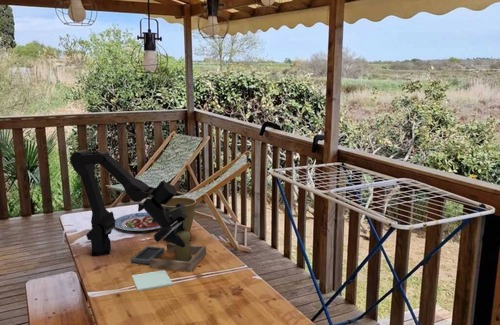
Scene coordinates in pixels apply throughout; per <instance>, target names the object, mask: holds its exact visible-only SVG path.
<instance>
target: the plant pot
mask: <svg viewBox="0 0 500 325" xmlns="http://www.w3.org/2000/svg"><path fill="white" fill-rule="evenodd" d="M180 202H181V203H182V204H184V206H186V208H185V210H186V212H187V213H185V214H186V215H187V216H188V217H187V218H186V219H185V229H186V231H188V232H189V233H190V232H191V229H192V227H193V226H192V225H193V221H194V219H195V218H194V217H195V212H196V206H197V200H196V199H193V198H190V197H182V196H181V197H179V196H177V197H173V198H172V199H171V200H170V201H169V202H168V203H166V204H162V205H163V206H164V207H165V209H166V208H167V207H168V208H169V209H170V210H172V209H174V208H176V204H178V203H180ZM182 222H183V221H182ZM190 234H191V233H190Z"/></svg>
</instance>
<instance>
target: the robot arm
mask: <svg viewBox="0 0 500 325" xmlns="http://www.w3.org/2000/svg"><path fill="white" fill-rule="evenodd" d="M69 161H70V164H71V167H72V168H73V170H74V172H76V174H78V175H79V177H80V179H81V182H82V185H83V186H82V187H83V188H84V192H85V195H86V198H87V200H88V204H89V207H90V210H91V222H90V223H91V224H90V225H91V229H90V230H89V231H88V232H87V233H86V234H85V235H86V239H87V241H90V246H91V247H90V248H91V249H90V253H91V256H92V257H95V256H96V257H97V256H105V255H110V254H111V251H112V250H111V249H112V243H111V242H112V241H111V239H110V237H109V235H111V234H112V231H113V229H115V228H116V227H115V221H116V219H115V216H114V212H113V211H110V212H109V211H108V209H106V205H105V203H104V200H103V196H102V194H101V190H100V187H99V185H98V184H99V183H98V182H97V181H98V180H97V178H96V175H95V168H96V165H100V166H101V167H103V169H104V170H105V171H107V173H109V175H111V176H112V178H114V179H115V180H116V181H117V182H118V183H119V184H120V185H121V186H122V187H123V190H124V192H125V194H126V195H127V197H128V198H129V199H130V200H131V202H133V203H138V204H137V206H138V207H137V211H138V212H137V213H141V211H143V210H144V211H145V212H147V213H148V214H149V215H150V216H151V217H152V218H153V220H152V222H153V223H155V222H156V223H157V224H158V225H159V226H160V227H161V228H159V230H157V231H156V232H155V233H154V235H153V239H154V240H155V241H156V243H158V244H159V242H160V241H161V240H162V241H163V242H167V243H173V244H176V245H178V246H181V247H185V244H184V242H183V241H182V240H181V238H180V237H179V236H178V234H177V233H178V232H180V231H186V229H185V219H186V218H187V217H188V216H187V215H186V214H185V213H187V212H186V210H185V208H186V206H184V204H182V203H181V202H180V203H178V204H176V208H174V209H172V210H170V209H169V208H168V207H167V208H166V209H165V207H164V206H163V205H162V204H166V203H168V202H169V201H170V200H171V199H172V198H175V196H176V195H177V193H178V191H177V189H176V187H175V186H174V185H173V184H171V183H169V182H166V180H161V181H160V182H159V183H158V185H157V186H156V187H153V186H149V185H148V184H147V183H146V182H144V181H142V180H141V179H139V178H137V177H134V176H133V175H132V174H130V173H129V172H128V171H127V170H126V169H125V168H124V167H123V166H122V165H121V164H120V163H119V162H117V160H116V159H115V158H114V157H113V156H111V154H110V153H109V152H107V151H102V152H101V151H91V150H89V149H83V150H79V151H75V152H73V153H72V154H71V155H70V157H69ZM143 200H144V201H143ZM142 201H143V202H142ZM182 221H183V222H182ZM191 241H192V240H191V239H190V240H189V243H190V242H191Z"/></svg>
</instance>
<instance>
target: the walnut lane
mask: <svg viewBox="0 0 500 325" xmlns="http://www.w3.org/2000/svg"><path fill="white" fill-rule="evenodd" d="M190 249H191V255H192V259H191V260H190V261H189V262H186V261H176V259H165V258H150V259H149V265H148V266H149V268H153V269H163V270H170V271H171V270H173V271H180V272H181V271H182V272H190V273H191V272H192V271H193V270H195V269H194V268H196V266H197V265H198V264H199V263H200V262H201V261H202V259H203V258H205V256H206V254H207V246H205V245H195V244H194V245H193V244H190ZM166 252H169V253H170V252H171V253H176V252H177V245H176V244H173V243H170V242H167V243H166Z"/></svg>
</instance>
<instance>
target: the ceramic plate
mask: <svg viewBox="0 0 500 325" xmlns="http://www.w3.org/2000/svg"><path fill="white" fill-rule="evenodd" d="M115 220H116V221H115V227H114V228H117V229H120V230H123V231H132V232H133V231H134V232H142V231H143V232H145V231H147V232H148V231H152V230H156V229H157V230H158V229H161V227H160V226H159V225H158V224H157V223H156V222H155V223H153V222H152V220H153V218H152V217H151V216H150V215H149V214H148V213H147V212H146V211H145V212H135V213H129V214H125V215H121V216H119V217H118V218H116V219H115ZM125 225H126V226H127V227H126V226H125Z"/></svg>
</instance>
